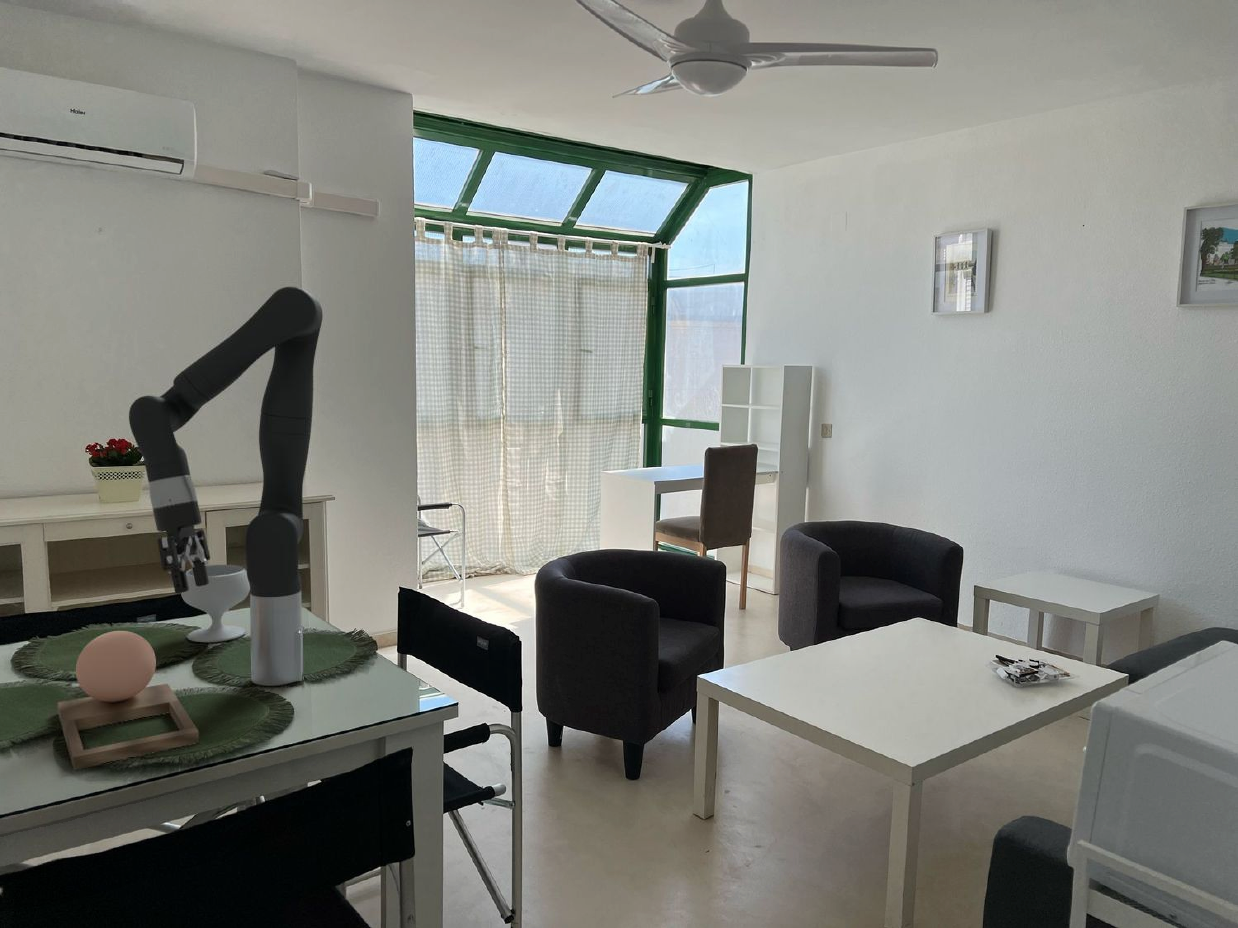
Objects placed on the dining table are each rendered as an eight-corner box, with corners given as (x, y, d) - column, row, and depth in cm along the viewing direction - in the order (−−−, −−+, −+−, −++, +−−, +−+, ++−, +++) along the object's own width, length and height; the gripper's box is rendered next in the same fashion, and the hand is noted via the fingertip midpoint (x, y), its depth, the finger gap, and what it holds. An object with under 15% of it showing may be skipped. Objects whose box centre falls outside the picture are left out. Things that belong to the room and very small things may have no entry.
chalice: (212, 624, 203) (211, 561, 202) (264, 630, 199) (263, 566, 198) (167, 641, 190) (165, 574, 188) (221, 648, 186) (219, 579, 185)
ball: (163, 684, 158) (161, 620, 157) (148, 709, 147) (146, 640, 145) (88, 690, 154) (86, 624, 153) (67, 715, 143) (64, 644, 142)
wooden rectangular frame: (167, 693, 159) (167, 683, 159) (199, 743, 138) (198, 731, 138) (58, 713, 149) (57, 702, 149) (73, 770, 128) (73, 757, 128)
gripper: (177, 501, 153) (196, 590, 153) (211, 497, 167) (228, 579, 168) (134, 509, 153) (153, 599, 153) (172, 505, 167) (189, 587, 167)
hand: (192, 588), depth 160 cm, fingers open, 8 cm apart
